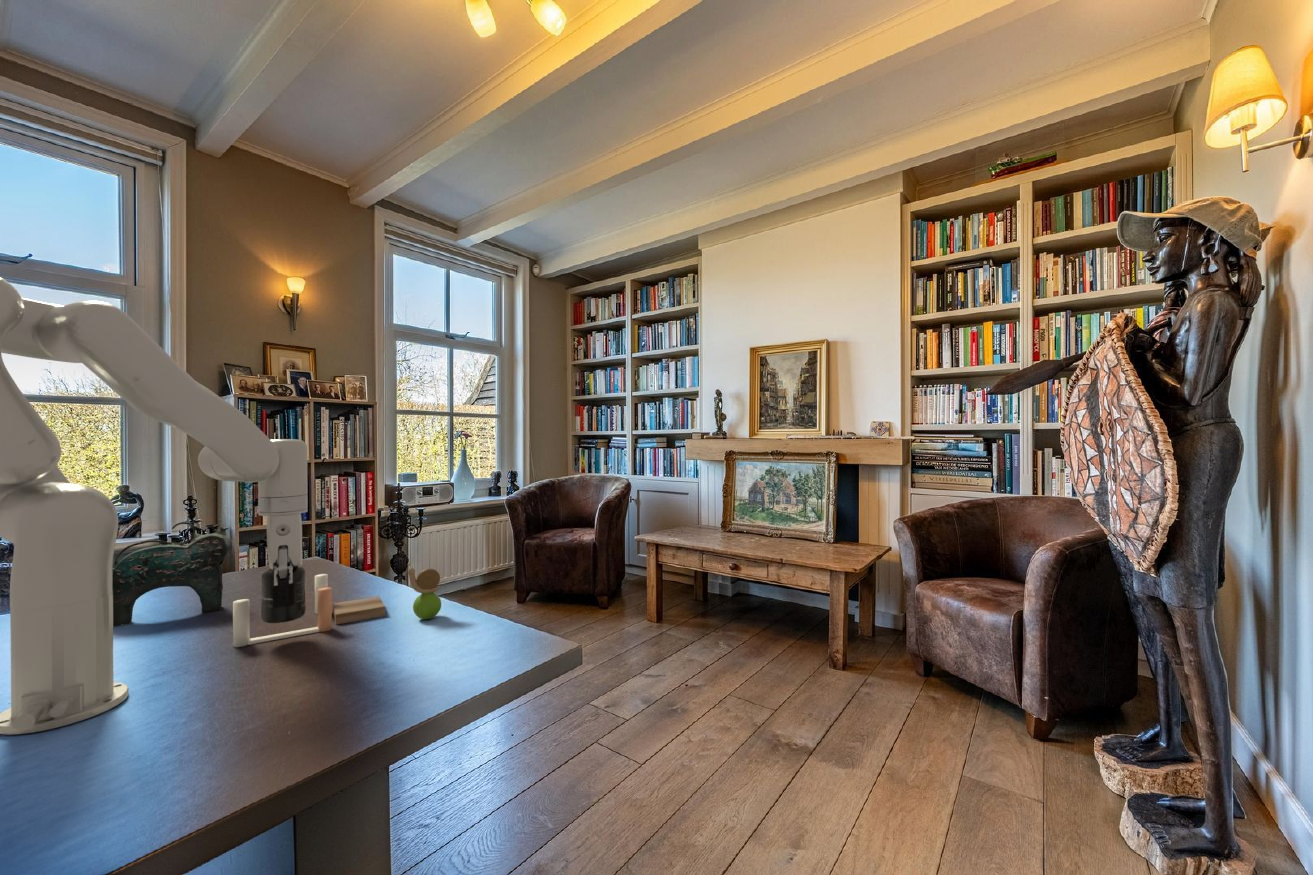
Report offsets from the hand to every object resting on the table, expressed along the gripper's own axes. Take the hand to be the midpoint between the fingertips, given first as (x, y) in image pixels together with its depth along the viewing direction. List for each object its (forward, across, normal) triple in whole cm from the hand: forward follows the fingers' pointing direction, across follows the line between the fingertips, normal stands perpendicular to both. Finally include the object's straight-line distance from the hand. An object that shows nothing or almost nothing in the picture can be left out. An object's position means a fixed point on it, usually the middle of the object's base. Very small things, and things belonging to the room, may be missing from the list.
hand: (284, 600), depth 99 cm
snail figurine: (+8, -2, -24) cm, 25 cm away
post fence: (+8, +10, 0) cm, 12 cm away
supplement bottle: (+3, 0, 0) cm, 3 cm away
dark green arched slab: (+8, +32, +20) cm, 39 cm away
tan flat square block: (+8, +10, -13) cm, 18 cm away
